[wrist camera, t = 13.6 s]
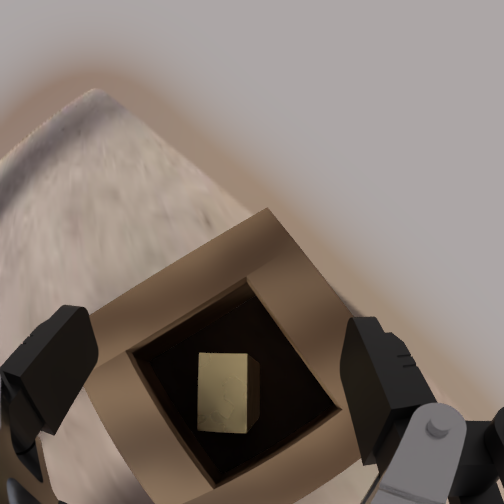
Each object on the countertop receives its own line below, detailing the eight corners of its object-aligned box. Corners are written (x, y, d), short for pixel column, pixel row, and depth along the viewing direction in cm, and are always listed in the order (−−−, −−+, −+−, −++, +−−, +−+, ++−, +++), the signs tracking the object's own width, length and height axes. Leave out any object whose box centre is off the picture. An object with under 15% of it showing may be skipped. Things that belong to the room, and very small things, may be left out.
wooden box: (135, 357, 28) (61, 333, 16) (263, 278, 31) (267, 207, 19) (219, 486, 22) (193, 548, 11) (353, 401, 26) (419, 407, 14)
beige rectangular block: (227, 363, 28) (199, 352, 19) (259, 364, 27) (247, 353, 18) (226, 415, 26) (197, 430, 16) (259, 416, 25) (246, 433, 16)
